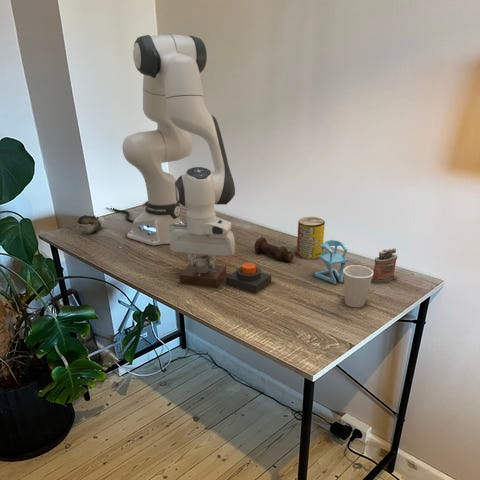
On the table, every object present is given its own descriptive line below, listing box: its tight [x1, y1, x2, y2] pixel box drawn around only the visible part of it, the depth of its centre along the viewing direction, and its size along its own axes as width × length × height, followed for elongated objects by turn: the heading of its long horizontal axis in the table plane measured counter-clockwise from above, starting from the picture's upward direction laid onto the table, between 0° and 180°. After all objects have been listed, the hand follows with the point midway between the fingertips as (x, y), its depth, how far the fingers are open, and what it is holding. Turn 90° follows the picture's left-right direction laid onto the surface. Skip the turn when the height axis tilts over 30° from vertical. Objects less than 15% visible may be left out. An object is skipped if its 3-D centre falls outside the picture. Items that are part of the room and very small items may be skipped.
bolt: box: [253, 237, 295, 262], centre depth 172 cm, size 6×5×15 cm
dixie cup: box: [343, 264, 374, 308], centre depth 141 cm, size 8×8×10 cm
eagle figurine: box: [77, 214, 105, 235], centre depth 196 cm, size 8×7×9 cm
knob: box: [195, 254, 211, 273], centre depth 155 cm, size 4×4×5 cm
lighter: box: [371, 247, 398, 284], centre depth 154 cm, size 8×3×10 cm, turn 117°
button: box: [241, 262, 257, 274], centre depth 152 cm, size 4×4×2 cm
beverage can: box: [296, 216, 326, 260], centre depth 172 cm, size 9×9×12 cm
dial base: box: [179, 262, 227, 289], centre depth 157 cm, size 12×10×3 cm
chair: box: [314, 239, 349, 285], centre depth 155 cm, size 8×8×12 cm
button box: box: [225, 266, 272, 294], centre depth 154 cm, size 11×9×4 cm
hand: (203, 266), depth 156 cm, fingers closed on knob, 4 cm apart
